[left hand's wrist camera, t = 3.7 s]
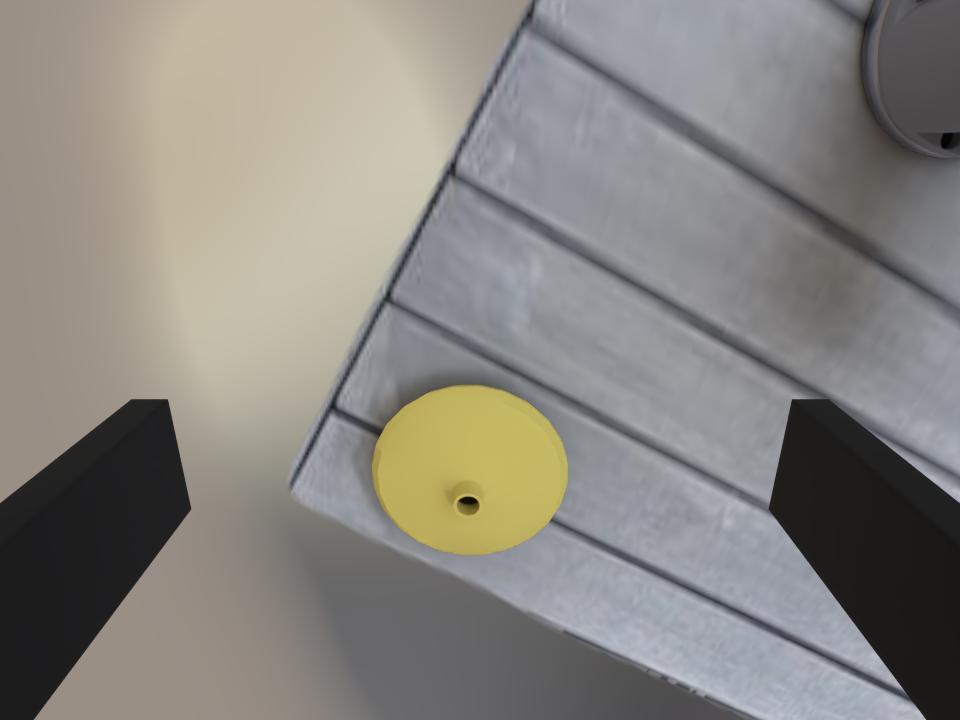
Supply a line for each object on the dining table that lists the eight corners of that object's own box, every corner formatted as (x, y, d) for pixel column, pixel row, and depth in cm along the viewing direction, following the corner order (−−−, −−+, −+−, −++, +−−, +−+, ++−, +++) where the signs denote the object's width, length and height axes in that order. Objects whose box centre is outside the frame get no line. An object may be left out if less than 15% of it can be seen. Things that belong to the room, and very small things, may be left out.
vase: (519, 340, 47) (524, 375, 40) (591, 496, 52) (606, 550, 45) (344, 414, 49) (322, 458, 43) (429, 555, 54) (420, 614, 48)
